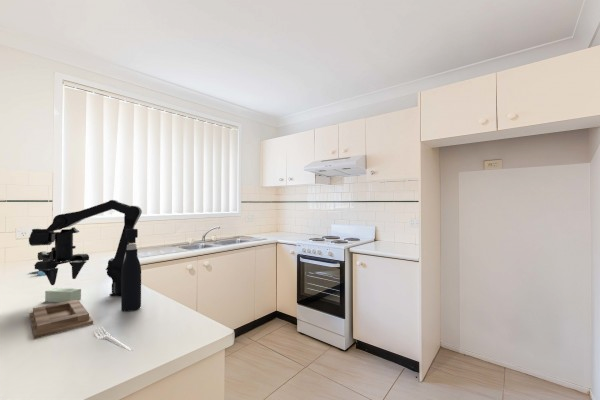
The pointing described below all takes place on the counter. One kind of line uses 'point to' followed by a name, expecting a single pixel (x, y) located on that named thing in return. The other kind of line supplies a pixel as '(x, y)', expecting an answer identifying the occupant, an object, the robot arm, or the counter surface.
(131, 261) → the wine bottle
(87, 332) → the counter surface
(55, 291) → the peg
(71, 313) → the socket board
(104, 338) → the fork
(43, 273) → the blue spiky figurine
